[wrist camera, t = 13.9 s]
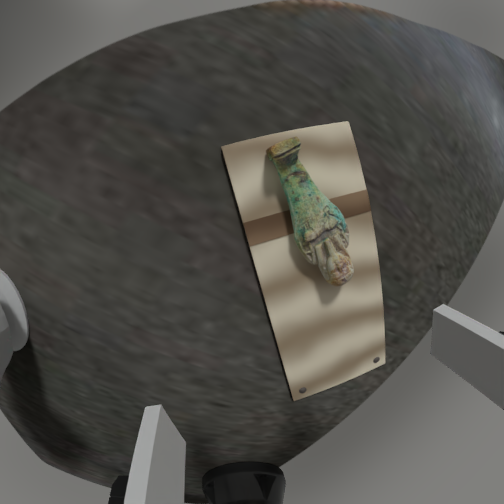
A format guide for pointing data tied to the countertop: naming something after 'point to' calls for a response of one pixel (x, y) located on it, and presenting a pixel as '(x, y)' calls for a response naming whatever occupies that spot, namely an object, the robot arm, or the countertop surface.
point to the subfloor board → (304, 273)
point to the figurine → (313, 215)
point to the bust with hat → (11, 321)
